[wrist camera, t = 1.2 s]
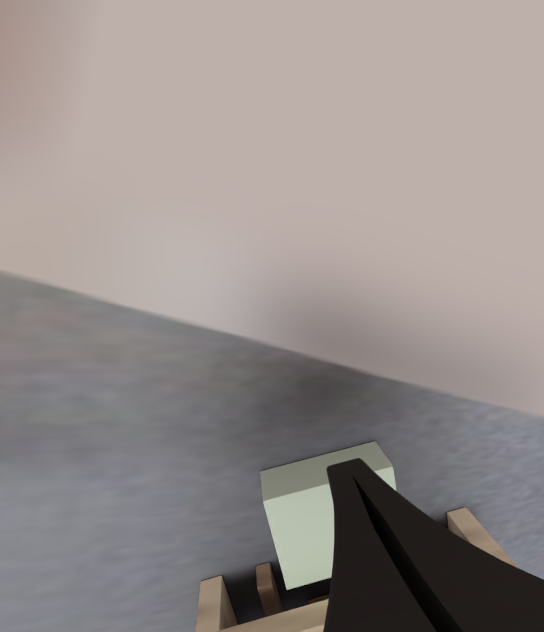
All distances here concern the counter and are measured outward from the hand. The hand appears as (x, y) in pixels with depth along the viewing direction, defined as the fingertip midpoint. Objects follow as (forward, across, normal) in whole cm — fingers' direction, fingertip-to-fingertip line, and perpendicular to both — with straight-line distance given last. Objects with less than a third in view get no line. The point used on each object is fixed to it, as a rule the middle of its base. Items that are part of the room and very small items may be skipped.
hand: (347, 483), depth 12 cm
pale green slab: (+8, 0, +8) cm, 12 cm away
